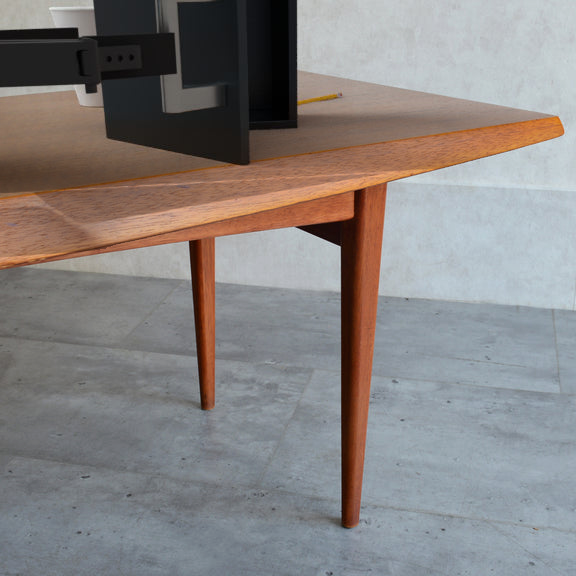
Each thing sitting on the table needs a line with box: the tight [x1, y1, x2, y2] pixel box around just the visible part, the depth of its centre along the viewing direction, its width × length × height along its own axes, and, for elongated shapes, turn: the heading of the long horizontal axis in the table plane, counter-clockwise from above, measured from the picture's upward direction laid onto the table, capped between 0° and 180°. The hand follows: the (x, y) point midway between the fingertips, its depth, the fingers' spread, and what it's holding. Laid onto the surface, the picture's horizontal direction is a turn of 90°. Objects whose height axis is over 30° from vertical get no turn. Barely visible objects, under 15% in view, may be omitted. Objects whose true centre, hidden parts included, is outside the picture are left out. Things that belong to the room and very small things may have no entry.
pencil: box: [297, 92, 343, 106], centre depth 101 cm, size 1×13×1 cm, turn 145°
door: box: [92, 0, 251, 166], centre depth 64 cm, size 7×20×20 cm, turn 47°
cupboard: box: [246, 0, 299, 131], centre depth 79 cm, size 10×20×20 cm, turn 102°
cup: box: [48, 5, 104, 108], centre depth 99 cm, size 12×12×12 cm
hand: (121, 48), depth 55 cm, fingers open, 13 cm apart
